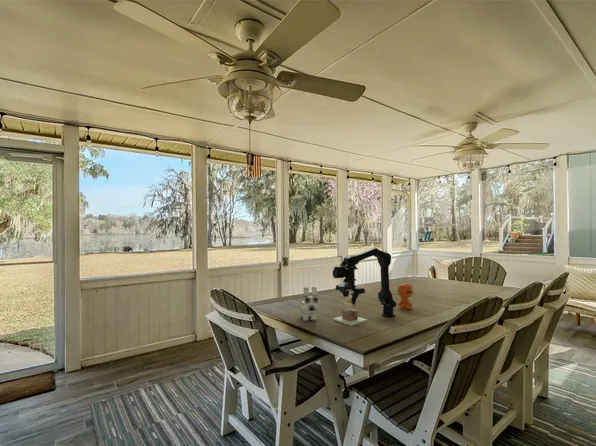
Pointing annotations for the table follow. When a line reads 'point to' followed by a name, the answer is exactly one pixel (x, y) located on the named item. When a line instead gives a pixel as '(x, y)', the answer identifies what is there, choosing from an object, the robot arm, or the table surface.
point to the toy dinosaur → (405, 296)
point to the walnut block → (350, 314)
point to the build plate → (353, 322)
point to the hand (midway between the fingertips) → (350, 303)
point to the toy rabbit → (309, 304)
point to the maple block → (348, 301)
